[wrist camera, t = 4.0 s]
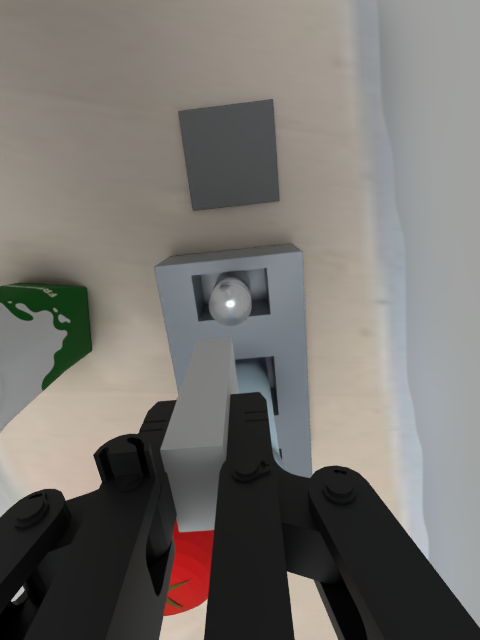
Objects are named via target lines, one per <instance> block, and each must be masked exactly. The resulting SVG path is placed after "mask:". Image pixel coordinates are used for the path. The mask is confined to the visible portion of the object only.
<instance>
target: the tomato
mask: <svg viewBox="0 0 480 640" xmlns="http://www.w3.org/2000/svg"><path fill="white" fill-rule="evenodd" d="M213 537H214V530H206V531H192V532H179V528H178V524H177V520H176V521H175V526H174V531H173V539H174V543H175V557H174V563H173V568H172V573H171V578H170V584H169V589H168V594H167V599H166V604H165V610H164V615H163V616H169V615H174V614H178V613H181V612H185V611H187V610H190V609H193V608H195V607H197V606H199V605H200V604H202V603H203V602H204V601H205V600H206V599H208V591H209V581H210V570H211V559H212V548H213Z"/></svg>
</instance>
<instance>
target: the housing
mask: <svg viewBox="0 0 480 640" xmlns="http://www.w3.org/2000/svg"><path fill="white" fill-rule="evenodd" d="M154 270H155V275H156V280H157V285H158V290H159V296H160V301H161V306H162V311H163V316H164V322H165V327H166V332H167V337H168V342H169V347H170V353H171V358H172V363H173V368H174V373H175V378H176V384H177V389H178V394H179V392H180V389H181V386H182V383H183V380H184V377H185V374H186V371H187V368H188V365H189V362H190V359H191V357H192V354H193V351H194V348H195V345H196V342H197V340H205V339H216V338H226V337H232V343H233V351H234V359H235V360H237V359H248V358H258V357H265V358H266V363H267V370H268V377H269V384H270V391H271V398H272V405H273V412H274V419H275V426H276V433H277V440H278V447H279V454H280V457H281V459H282V461H283V463H284V467H285V471H287V472H289V473H291V474H294V475H298V476H302V477H307V478H310V477H311V476H312V458H311V436H310V413H309V391H308V368H307V345H306V323H305V300H304V278H303V255H302V251H301V250H300V249H299V248H297V247H296V246H295V245H293V244H282V245H273V246H264V247H254V248H245V249H236V250H226V251H217V252H208V253H199V254H189V255H180V256H171V257H169V258H167V259H166V260H164V261H162V262H161V263H159V264H158V265H156V266H155V267H154ZM240 270H241V271H243V272H244V273H245V274H246V275H247V276H248V278H249V281H250V290H251V303H252V308H251V312H250V315H249V316H248V318H247V319H246V320H245V321H244V322H242V323H241V324H238V325H235V326H226V325H222V324H220V323H218V322H217V321H216V320H215V319H214V318H213V317H212V315H211V313H210V311H209V300H210V297H211V294H212V291H213V289H214V286H215V284H216V281H217V278H218V276H219V275H220V274H221V273H222V272H230V271H240Z"/></svg>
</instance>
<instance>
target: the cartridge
mask: <svg viewBox="0 0 480 640" xmlns="http://www.w3.org/2000/svg"><path fill="white" fill-rule="evenodd" d="M235 367H236V375H237V383H238V391H239V394H240V393H251V392H260V393H261V394H262V395H263V396H264V398H265V399H266V400H267V409H268V417H269V426H270V434H271V443H272V451H273V456H274V459H275V461H276V462H277V464H278V465H279V466H280V467H281V468H282V469H284V470H285V467H284V463H283V461H282V459H281V457H280V454H279V447H278V440H277V433H276V426H275V419H274V412H273V405H272V398H271V391H270V384H269V377H268V370H267V363H266V358H265V357H258V358H248V359H237V360H235Z"/></svg>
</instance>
